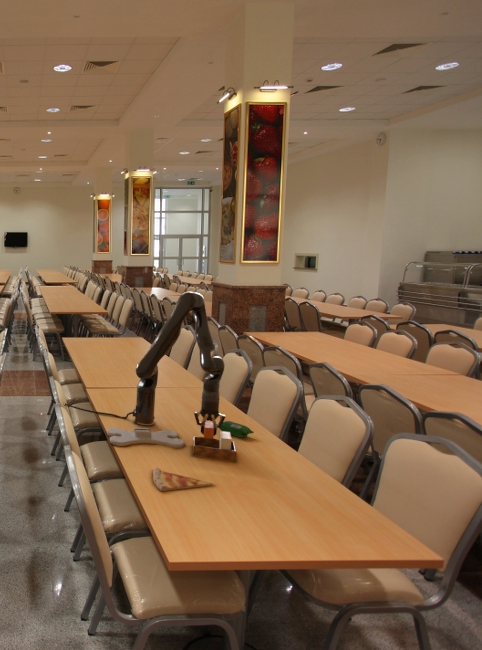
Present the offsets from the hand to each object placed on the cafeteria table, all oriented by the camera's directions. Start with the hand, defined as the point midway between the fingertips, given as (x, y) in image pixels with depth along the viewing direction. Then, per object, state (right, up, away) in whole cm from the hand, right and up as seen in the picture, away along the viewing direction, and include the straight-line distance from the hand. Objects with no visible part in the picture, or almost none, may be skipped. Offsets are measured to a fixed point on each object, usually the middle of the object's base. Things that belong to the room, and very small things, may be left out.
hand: (208, 434), depth 237 cm
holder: (-29, -4, +3) cm, 29 cm away
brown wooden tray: (-3, -6, -12) cm, 14 cm away
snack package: (+18, -3, +12) cm, 22 cm away
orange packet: (0, -4, +1) cm, 4 cm away
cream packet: (+1, -5, -14) cm, 15 cm away
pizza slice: (-29, -9, -43) cm, 53 cm away
